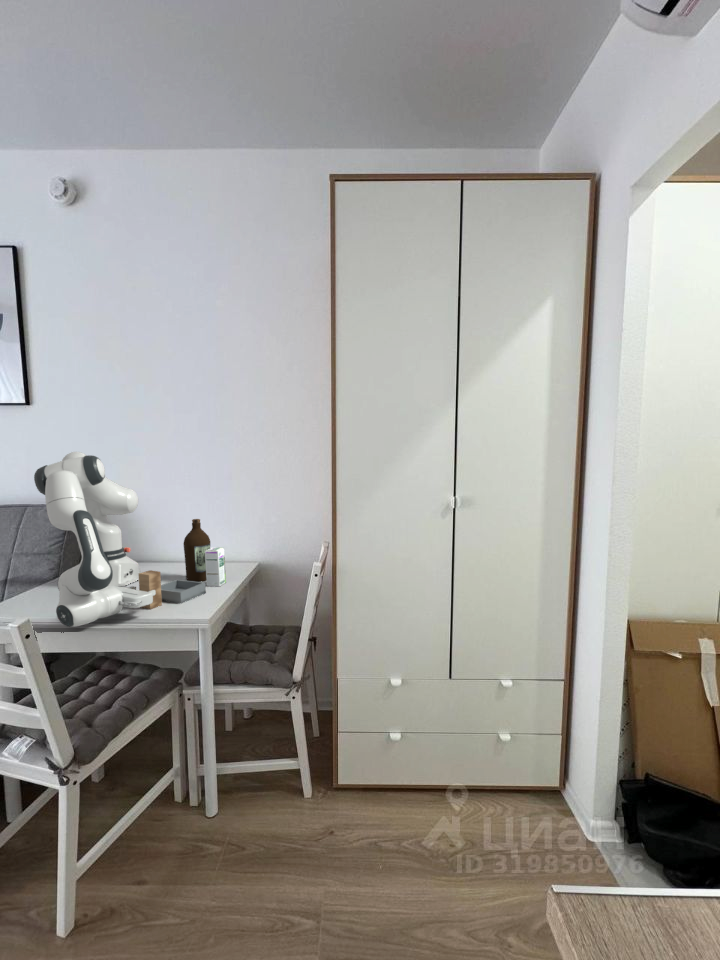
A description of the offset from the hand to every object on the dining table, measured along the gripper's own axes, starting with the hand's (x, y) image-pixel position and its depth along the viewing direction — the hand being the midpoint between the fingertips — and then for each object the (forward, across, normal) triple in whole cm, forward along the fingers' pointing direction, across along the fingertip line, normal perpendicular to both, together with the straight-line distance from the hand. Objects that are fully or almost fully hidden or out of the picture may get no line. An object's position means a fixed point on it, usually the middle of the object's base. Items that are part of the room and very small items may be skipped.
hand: (144, 590), depth 190 cm
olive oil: (+37, +11, +7) cm, 39 cm away
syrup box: (+34, -1, +7) cm, 34 cm away
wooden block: (+2, 0, +6) cm, 7 cm away
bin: (+15, 0, +6) cm, 17 cm away
